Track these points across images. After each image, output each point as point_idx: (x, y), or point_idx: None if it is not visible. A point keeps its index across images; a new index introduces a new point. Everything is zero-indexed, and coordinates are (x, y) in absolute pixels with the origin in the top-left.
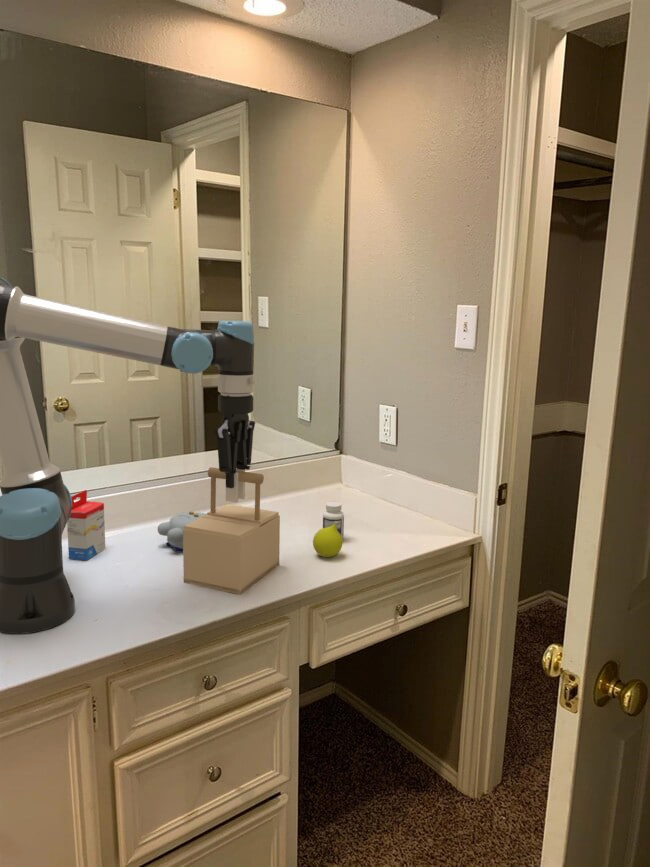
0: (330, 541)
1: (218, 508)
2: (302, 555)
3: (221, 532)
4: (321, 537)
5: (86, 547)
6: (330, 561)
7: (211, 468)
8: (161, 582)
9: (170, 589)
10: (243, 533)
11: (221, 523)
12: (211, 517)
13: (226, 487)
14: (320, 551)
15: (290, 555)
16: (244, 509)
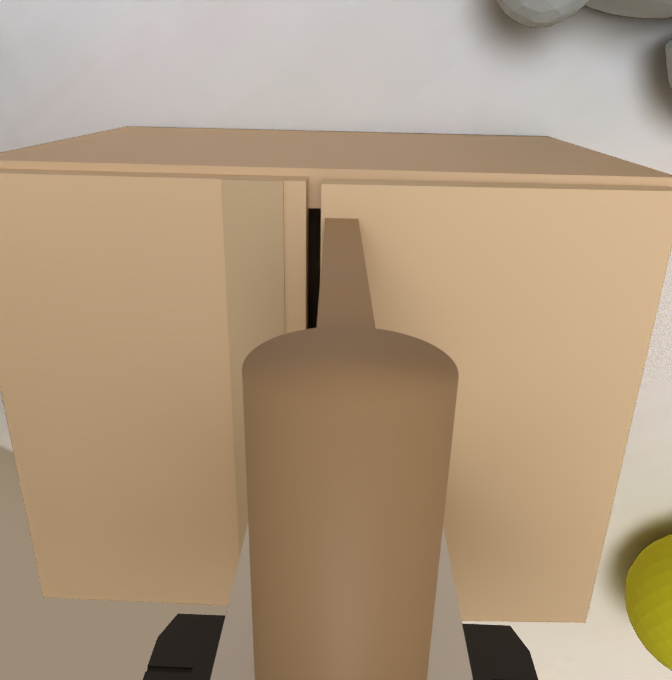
0: (652, 652)
1: (496, 202)
2: (651, 469)
3: (21, 485)
4: (665, 629)
5: None
6: (613, 581)
7: (301, 464)
8: (68, 11)
9: (33, 111)
10: (88, 598)
11: (176, 402)
12: (251, 270)
13: (179, 617)
14: (629, 576)
15: (636, 424)
16: (556, 409)
